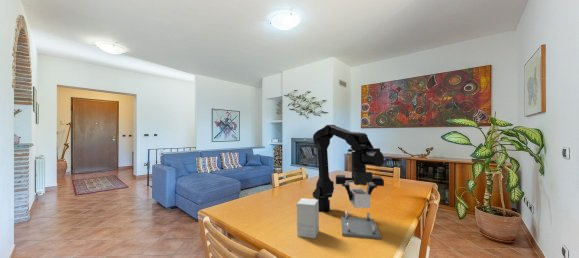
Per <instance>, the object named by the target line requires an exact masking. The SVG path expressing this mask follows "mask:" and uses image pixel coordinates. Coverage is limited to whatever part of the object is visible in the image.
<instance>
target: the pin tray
mask: <svg viewBox="0 0 579 258" xmlns="http://www.w3.org/2000/svg"><path fill="white" fill-rule="evenodd" d="M344 213H345V214H344V215H345V216H340V219H341V235H342V236H343V237H350V238H351V237H352V238H362V239H363V238H364V239H375V240H376V239H377V240H382V235H381V232H380V230H379V228H378V226H377V223H376V221H375V219H374V218H371V213H370V212H366V217H353V216H350V217H349V211H347V210H346V211H345V212H344Z"/></svg>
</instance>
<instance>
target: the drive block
mask: <svg viewBox="0 0 579 258" xmlns="http://www.w3.org/2000/svg"><path fill="white" fill-rule="evenodd" d="M350 193H351V201H350V199H349V198H348V201H349V202H350V203H351V205H352V206H353V207H354V208H355V209H357V208H358V209H360V208H361V209H371V195H370V194H368V193H367V190H365V189H364V188H362V187H361V188H359V187H358V188H353V187H350Z"/></svg>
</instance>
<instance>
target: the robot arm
mask: <svg viewBox="0 0 579 258" xmlns="http://www.w3.org/2000/svg"><path fill="white" fill-rule="evenodd" d="M334 136H335V137H337V138H339V139H342V140H344V141H345V143H346V144H347V145H349V146H350V147H349V148H348V149H347V152H349V153H351V155H350V156H351V160H350V161H351V177H346V175H345V174H337V175H335V181H333V180H332V179H331V178H330V176H329V175H330V172H329V156H328V155H329V154H328V148H329V146H330V144H331V139H332V138H333V137H334ZM312 140H313V145H314V147H315V148H316V149H317V150H316V151H317V163H318V165H317V166H318V179H317V181H316V185H315V189H314V190H313V192H312V198H313V199H317V200H318V201H319V212H322V213H323V212H325V213H326V212H327V213H328V212H329V211H330V209H331V200H330V198H332V197H333V194H334V191H335V188H334V186H335V185H341V186H342V187H344V188H345V190H346V192H347V195H348V200H349V199H350V201H351V193H350V188H351V187H350V183H353V184H354V185H355V186H366V192H367V193H368V194H370V196H371V195H372V192H373V191H374V189H377V188H378V187H385V179H383V178H382V177H381V176H378V175H377V176H375V175H373V172H369V171H367V166H372V167H381V166H383V164H384V163H385V157H384V154H383V152H381V148H379V147H378V148H377V147H376V148H375V147H374V146H373V144H372V142H371V141H370V139H369V138H368V134H367V133H365V132H359V131H358V132H357V131H350V130H348V129H345V128H342V127H339V126H337V125H335V124H326V125H325V126H324V127H322V128H320V129H318V130H317V131H315V133H314V134H313V136H312ZM334 182H335V183H334ZM334 184H335V185H334ZM350 201H349V202H350Z"/></svg>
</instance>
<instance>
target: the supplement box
mask: <svg viewBox="0 0 579 258" xmlns="http://www.w3.org/2000/svg"><path fill="white" fill-rule="evenodd" d="M319 214H320V211H319V201H318V200H317V199H316V198H303V197H301V198H300V199H299V200H298V202H297V203H296V232H297V233H296V235H297V237H301V238H310V239H313V240H314V239H315V240H316V238H317V236H318V234H319V232H320V217H319V216H320V215H319Z"/></svg>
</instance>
